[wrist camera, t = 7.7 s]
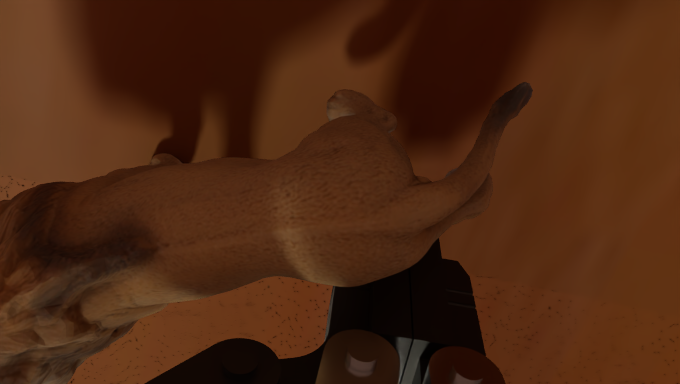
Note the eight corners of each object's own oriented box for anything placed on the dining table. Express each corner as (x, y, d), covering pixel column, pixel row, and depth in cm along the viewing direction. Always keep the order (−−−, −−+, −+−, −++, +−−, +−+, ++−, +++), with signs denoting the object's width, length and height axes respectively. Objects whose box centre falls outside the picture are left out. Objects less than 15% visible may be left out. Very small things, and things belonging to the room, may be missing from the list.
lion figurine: (135, 335, 16) (-124, 558, 9) (60, 195, 15) (-278, 315, 8) (563, 171, 12) (692, 321, 5) (487, -16, 12) (522, -114, 5)
